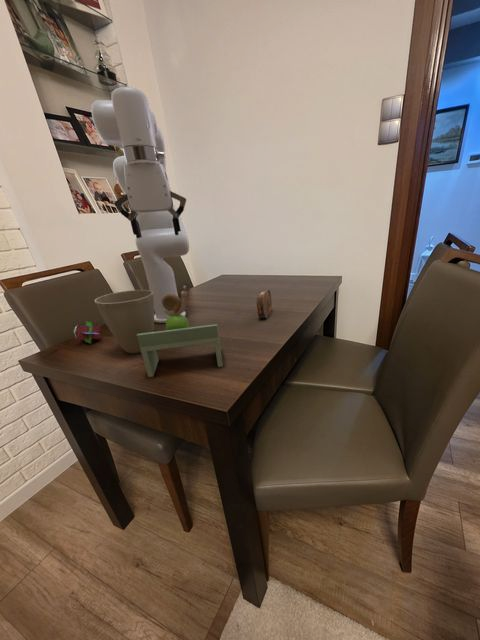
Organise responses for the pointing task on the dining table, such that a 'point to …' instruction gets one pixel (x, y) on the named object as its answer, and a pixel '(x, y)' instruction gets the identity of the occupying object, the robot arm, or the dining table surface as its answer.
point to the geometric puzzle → (87, 332)
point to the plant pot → (128, 316)
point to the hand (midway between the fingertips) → (158, 236)
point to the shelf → (176, 343)
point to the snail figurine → (175, 310)
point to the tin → (264, 304)
